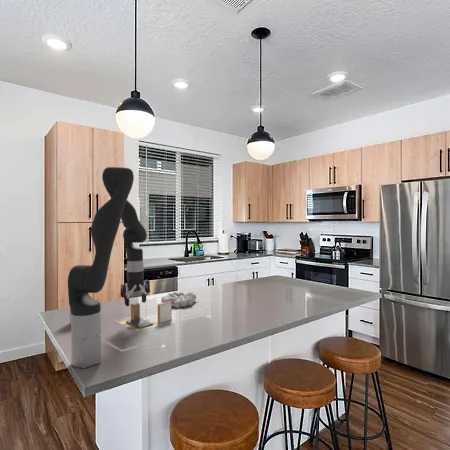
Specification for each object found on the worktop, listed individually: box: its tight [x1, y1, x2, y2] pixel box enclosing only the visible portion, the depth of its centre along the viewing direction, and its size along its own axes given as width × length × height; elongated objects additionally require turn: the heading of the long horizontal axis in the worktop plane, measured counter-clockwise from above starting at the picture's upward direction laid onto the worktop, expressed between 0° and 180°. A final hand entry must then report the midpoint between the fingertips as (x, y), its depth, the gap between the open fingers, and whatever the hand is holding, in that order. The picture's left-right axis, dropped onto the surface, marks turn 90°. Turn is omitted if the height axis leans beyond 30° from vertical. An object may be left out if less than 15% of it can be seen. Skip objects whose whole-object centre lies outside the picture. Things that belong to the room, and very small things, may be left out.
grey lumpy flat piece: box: [160, 291, 197, 309], centre depth 185 cm, size 22×21×6 cm
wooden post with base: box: [126, 302, 153, 329], centre depth 146 cm, size 12×7×9 cm, turn 46°
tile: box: [157, 302, 173, 324], centre depth 151 cm, size 2×7×9 cm, turn 136°
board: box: [114, 316, 160, 332], centre depth 148 cm, size 20×12×1 cm, turn 46°
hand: (135, 304), depth 149 cm, fingers open, 8 cm apart
